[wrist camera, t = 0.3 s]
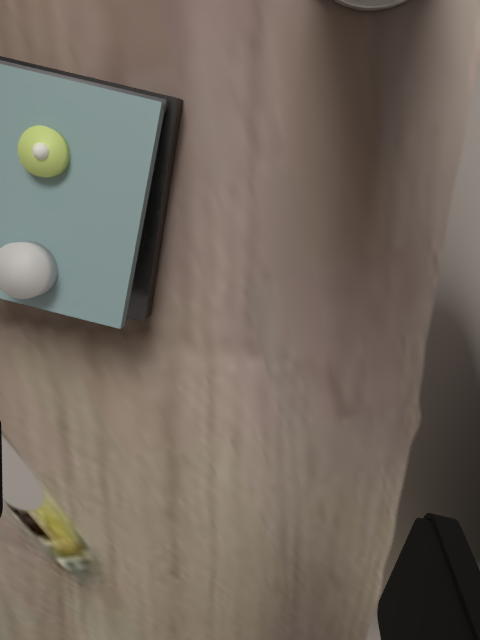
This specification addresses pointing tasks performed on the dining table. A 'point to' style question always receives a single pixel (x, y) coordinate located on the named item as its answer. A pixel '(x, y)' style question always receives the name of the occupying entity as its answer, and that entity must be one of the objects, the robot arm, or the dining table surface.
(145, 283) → the levelling base
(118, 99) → the plate
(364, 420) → the dining table surface
